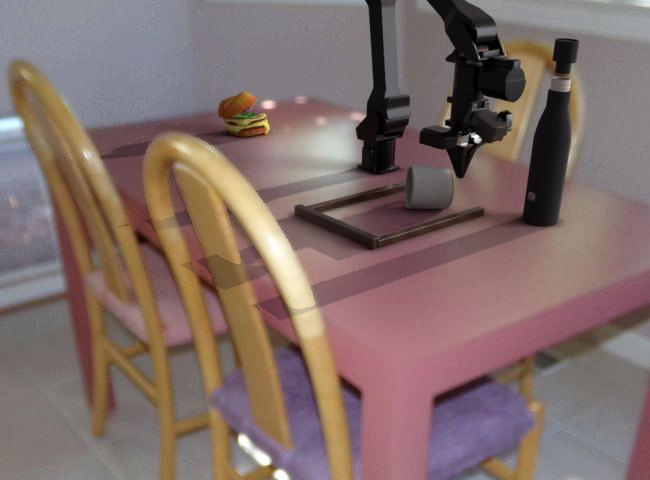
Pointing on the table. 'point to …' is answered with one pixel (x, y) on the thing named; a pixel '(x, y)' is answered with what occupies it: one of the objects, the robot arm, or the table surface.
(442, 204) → the ceramic mug
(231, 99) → the cheeseburger
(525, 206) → the black bottle
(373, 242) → the brown wooden flat frame
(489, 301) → the table surface
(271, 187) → the table surface
